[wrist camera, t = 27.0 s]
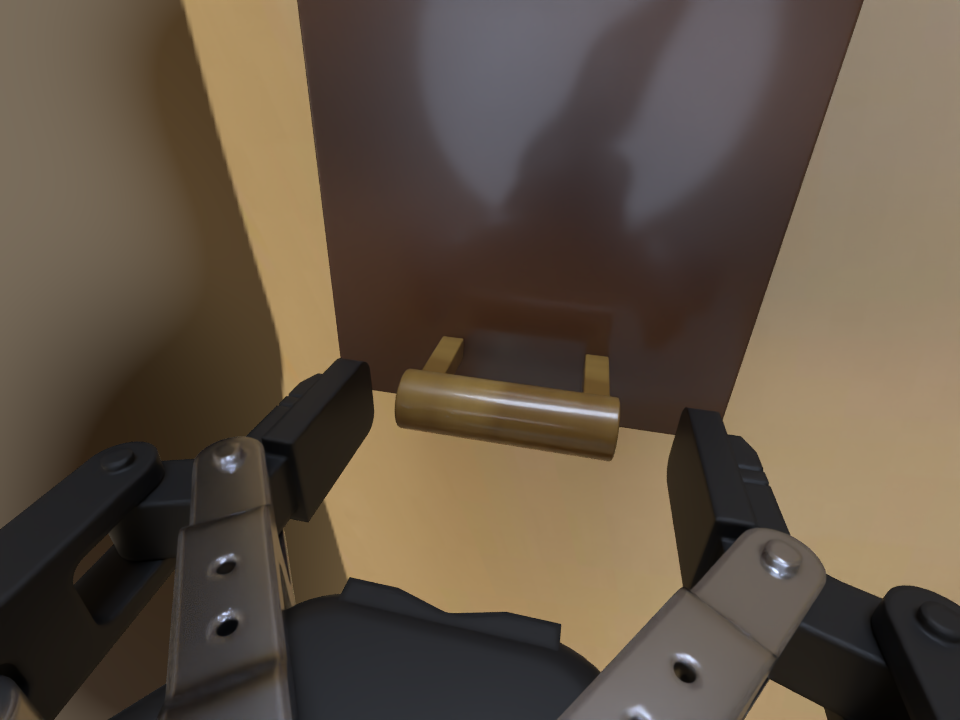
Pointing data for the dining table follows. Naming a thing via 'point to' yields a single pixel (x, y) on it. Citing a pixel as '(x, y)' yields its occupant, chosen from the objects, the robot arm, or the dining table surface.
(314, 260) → the dining table surface
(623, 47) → the case cover
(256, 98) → the dining table surface
